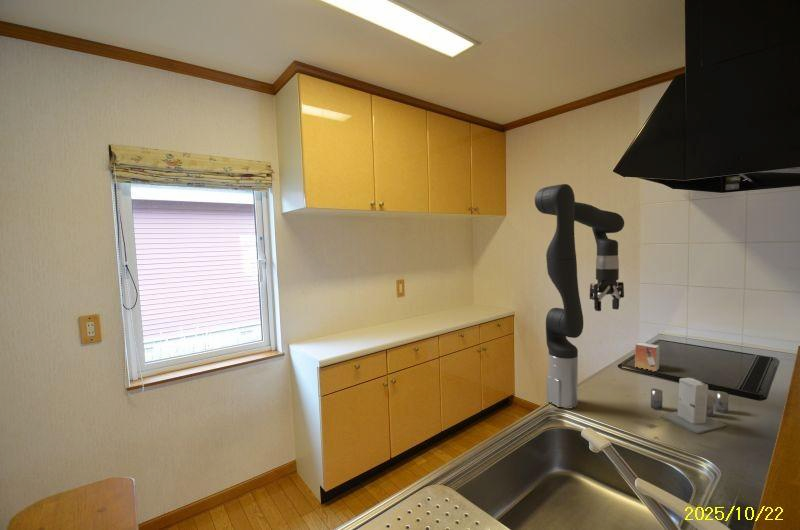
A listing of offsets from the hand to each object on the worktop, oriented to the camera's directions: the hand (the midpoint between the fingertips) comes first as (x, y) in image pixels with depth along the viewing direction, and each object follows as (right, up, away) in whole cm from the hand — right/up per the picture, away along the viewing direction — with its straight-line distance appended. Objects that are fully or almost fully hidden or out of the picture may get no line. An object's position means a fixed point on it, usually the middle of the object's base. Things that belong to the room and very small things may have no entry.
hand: (606, 310), depth 138 cm
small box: (+30, -29, +22) cm, 47 cm away
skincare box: (+12, -31, -26) cm, 42 cm away
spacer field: (+18, -31, -18) cm, 40 cm away
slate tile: (+12, -31, -26) cm, 42 cm away
